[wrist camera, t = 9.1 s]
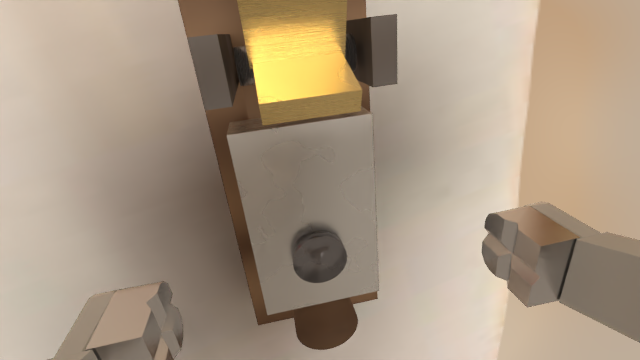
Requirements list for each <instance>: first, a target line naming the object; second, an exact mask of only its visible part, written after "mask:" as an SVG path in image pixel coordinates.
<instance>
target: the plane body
mask: <svg viewBox="0 0 640 360" xmlns="http://www.w3.org/2000/svg"><path fill="white" fill-rule="evenodd" d="M178 3H179V7H180V11H181V15H182V19H183V23H184V27H185V31H186V35H187V39H188V43H189V47H190V51H191V55H192V59H193V63H194V67H195V71H196V75H197V80H198V84H199V88H200V92H201V96H202V100H203V104H204V108H205V112H206V116H207V120H208V124H209V128H210V132H211V136H212V140H213V144H214V148H215V152H216V156H217V160H218V165H219V169H220V173H221V177H222V181H223V185H224V189H225V193H226V197H227V201H228V205H229V209H230V213H231V217H232V221H233V225H234V229H235V233H236V237H237V241H238V245H239V250H240V254H241V258H242V262H243V266H244V270H245V274H246V278H247V282H248V286H249V290H250V294H251V298H252V302H253V306H254V310H255V314H256V318H257V322H258V325H262V324H266V323H271V322H275V321H280V320H284V319H289V318H293V317H294V320H295V326H296V333H297V337H298V339H299V340H300V342H301V343H302V344H303V345H305V346H307V347H309V348H312V349H318V350H324V349H330V348H334V347H336V346H339V345H341V344H343V343H344V342H346V341H347V340H348V339H349V338H350V337H351V336H352V335H353V333H354V332H355V330H356V328H357V324H358V319H357V315H356V312H355V310H354V307H353V304H356V303H360V302H365V301H369V300H374V299H378V298H377V291H375V292H371V293H366V294H362V295H357V296H353V297H348V298H344V299H339V300H335V301H330V302H325V303H321V304H316V305H312V306H307V307H303V308H298V309H294V310H289V311H285V312H280V313H276V314H271V315H267V311H266V307H265V302H264V298H263V293H262V289H261V285H260V280H259V276H258V271H257V267H256V263H255V258H254V254H253V249H252V245H251V241H250V236H249V232H248V227H247V223H246V218H245V214H244V210H243V205H242V201H241V196H240V192H239V188H238V183H237V179H236V174H235V170H234V166H233V161H232V157H231V152H230V148H229V144H228V139H227V132H228V128H229V124H230V122H236V121H243V120H250V119H257V118H261V114H260V108H259V103H258V96H257V90H256V84H255V85H247V86H240V82H239V78H238V74H237V69H236V63H235V58H234V51H233V47H238V46H246V45H245V40H244V35H243V29H242V24H241V19H240V14H239V8H238V3H237V0H178ZM349 33H351V34H352V35H353V36H354V39H355V43H356V49H357V65H356V69H355V71H353V74H354V75H355V77H356V79H357V81H358V83H359V84H360V86H361V88H362V100H361V106H362V107H363V108H365V109H366V110H368V111H369V112H370V98H369V86H372V87H378V86H385V85H392V84H397V14H394V15H385V16H376V17H368V18H366V0H347V18H346V34H349Z"/></svg>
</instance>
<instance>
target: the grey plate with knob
mask: <svg viewBox="0 0 640 360" xmlns="http://www.w3.org/2000/svg"><path fill="white" fill-rule="evenodd" d="M227 139H228V144H229V148H230V152H231V157H232V161H233V166H234V170H235V174H236V179H237V183H238V188H239V192H240V196H241V201H242V205H243V210H244V214H245V218H246V223H247V227H248V232H249V236H250V241H251V245H252V249H253V254H254V258H255V263H256V267H257V271H258V276H259V280H260V285H261V289H262V293H263V298H264V302H265V307H266V311H267V315H271V314H276V313H280V312H285V311H289V310H294V309H298V308H303V307H307V306H312V305H316V304H321V303H325V302H330V301H335V300H339V299H344V298H348V297H353V296H357V295H362V294H366V293H371V292H375V291H379V278H378V252H377V225H376V198H375V171H374V144H373V117H372V113H371V112H369V111H368V110H366V109H365V108H363V107H362V106H361V111H358V112H352V113H345V114H338V115H331V116H325V117H318V118H311V119H304V120H298V121H291V122H284V123H277V124H271V125H264V126H263V125H262V119H261V118H257V119H250V120H243V121H236V122H230V124H229V128H228V132H227Z"/></svg>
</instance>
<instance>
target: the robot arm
mask: <svg viewBox="0 0 640 360" xmlns="http://www.w3.org/2000/svg"><path fill="white" fill-rule="evenodd" d="M484 228H485V229H486V230H487V232H488V233H489V234H488V235H487V236H486V238H485V239H484V240H483V242H482V255H483V258H484V262H485V264H486V265H487V267H488V268H489V270H490V271H491V272H492V273H493V274H494V275H495V276H497V277H499V278H502V279H504V280H506V281H507V288H508V289H509V290H510V291H511V292H512V293H513V294H514V295H515V296H516V297H517V298H518V299H519V300H520V301H521V302H522V303H523V304H524V305H525V306H526V307H531V306H536V305H540V304H544V303H549V302H554V301H559V302H560V303H562V304H564V305H566V306H568V307H570V308H572V309H574V310H576V311H578V312H580V313H582V314H584V315H586V316H588V317H590V318H592V319H594V320H596V321H598V322H600V323H602V324H603V325H606V326H608V327H609V328H612V329H613V330H616V331H617V332H619V333H621V334H624V335H625V336H627V337H629V338H631V339H633V340H635V341H637V342H639V343H640V240H637V239H632V238H628V237H624V236H620V235H616V234H612V233H608V232H606V233H600V232H598V231H596V230H595V229H593V228H591V227H589V226H588V225H586V224H584V223H582V222H581V221H579V220H577V219H576V218H574V217H572V216H570V215H569V214H567V213H565V212H564V211H562V210H560V209H558V208H556V207H555V206H553V205H551V204H550V203H546V202H538V203H534V204H530V205H526V206H524V207H520V208H515V209H510V210H506V211H501V212H496V213H491V214H489V215H488V216H487V218H486V221H485V227H484ZM171 298H172V292H171V290H170V287H169V285H168V283H166V282H164V281H162V282H157V283H152V284H146V285H141V286H135V287H130V288H125V289H119V290H115V291H110V292H105V293H100V294H95V295H94V296H92V297H90V298H89V299H88V301H87V303H86V304H85V306H84V308H83V309H82V311H81V313H80V315H79V316H78V318H77V320H76V321H75V323H74V325H73V326H72V328H71V330H70V332H69V333H68V335H67V337H66V338H65V340H64V342H63V343H62V345H61V347H60V348H59V350H58V352H57V354H56V355H55V357H54V358H52V359H48V360H174V358H175V356H176V355H177V354H178V353H179V352H180V350H181V347H182V341H183V324H182V319H181V315H180V312H179V310H178V308H177V307H175V306H173V305H171V304H170V301H171Z"/></svg>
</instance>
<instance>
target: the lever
mask: <svg viewBox="0 0 640 360" xmlns="http://www.w3.org/2000/svg"><path fill="white" fill-rule="evenodd" d="M237 3H238V8H239V14H240V19H241V24H242V29H243V35H244V40H245V45H246V46H238V47H233V51H234V58H235V63H236V69H237V74H238V78H239V82H240V86H247V85H255V84H256V90H257V96H258V103H259V108H260V114H261V119H262V125H263V126H264V125H271V124H277V123H284V122H291V121H298V120H304V119H311V118H318V117H325V116H331V115H338V114H345V113H352V112H358V111H361V100H362V88H361V86H360V84H359V83H358V81H357V79H356V77H355V75H354V74H353V71H355V69H356V65H357V49H356V43H355V39H354V36H353V35H352V34H351V33H349V34H346V18H347V0H237Z"/></svg>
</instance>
